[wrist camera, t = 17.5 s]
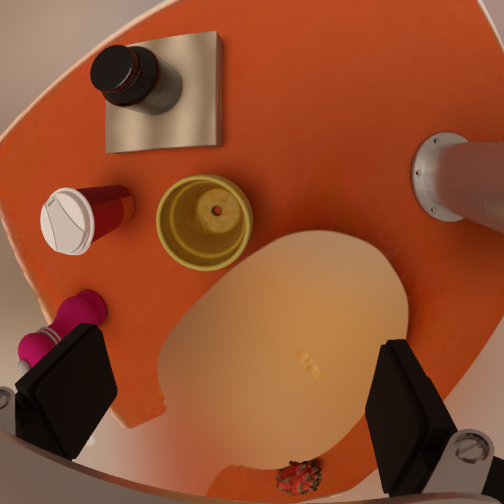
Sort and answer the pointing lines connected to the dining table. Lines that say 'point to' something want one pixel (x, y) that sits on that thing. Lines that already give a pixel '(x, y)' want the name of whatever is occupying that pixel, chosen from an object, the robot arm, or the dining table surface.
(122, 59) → the supplement bottle
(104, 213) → the paper cup
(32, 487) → the robot arm
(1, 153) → the dining table surface
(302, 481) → the dragon fruit
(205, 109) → the beech block
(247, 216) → the plant pot
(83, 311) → the pepper mill
